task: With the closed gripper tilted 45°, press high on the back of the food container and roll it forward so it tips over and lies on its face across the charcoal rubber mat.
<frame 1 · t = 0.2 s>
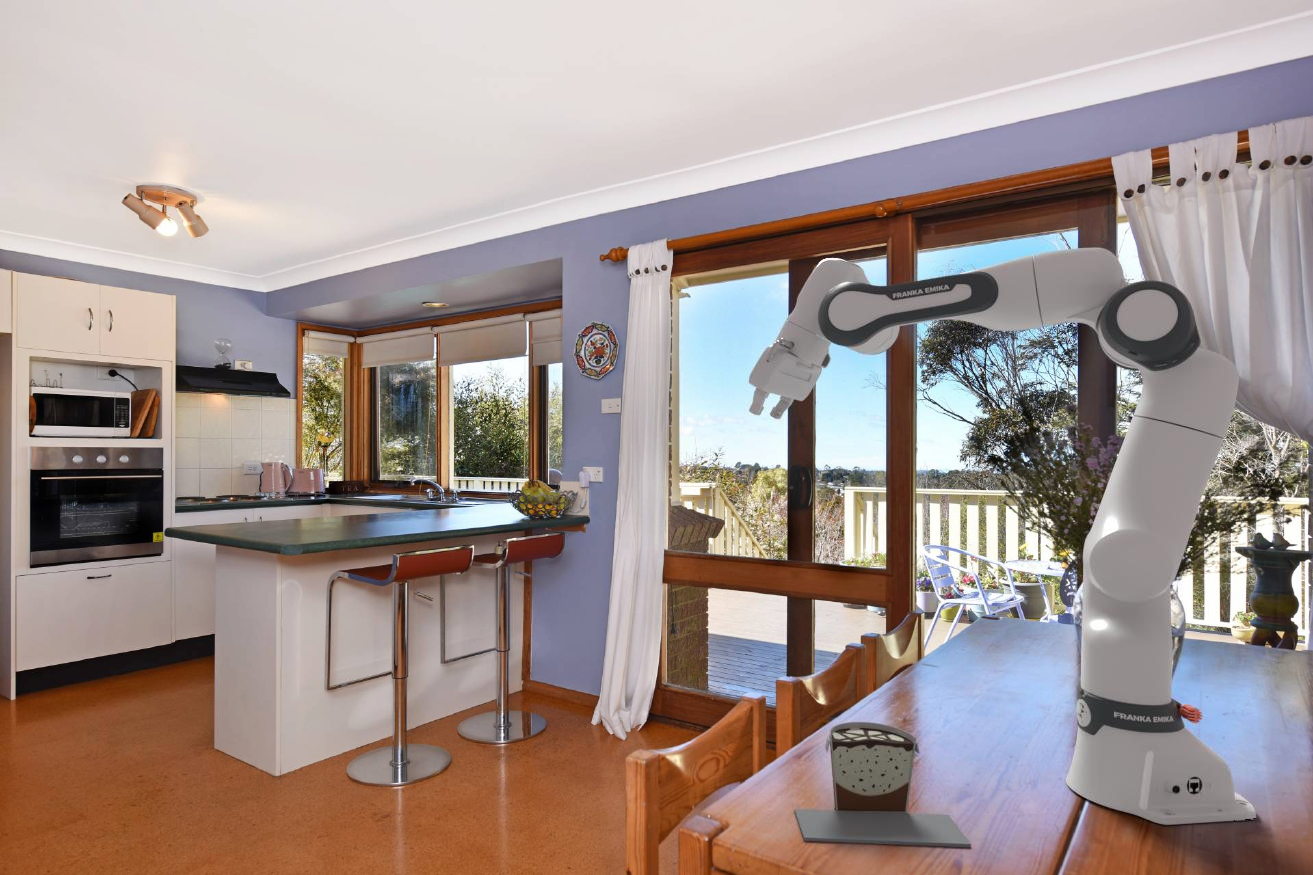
hand: (764, 415, 137), 54 cm above the table, tool tilted 30°, fingers open, 8 cm apart
charcoal rubber mat: (879, 828, 96), on the table
food container: (864, 804, 104), on the table
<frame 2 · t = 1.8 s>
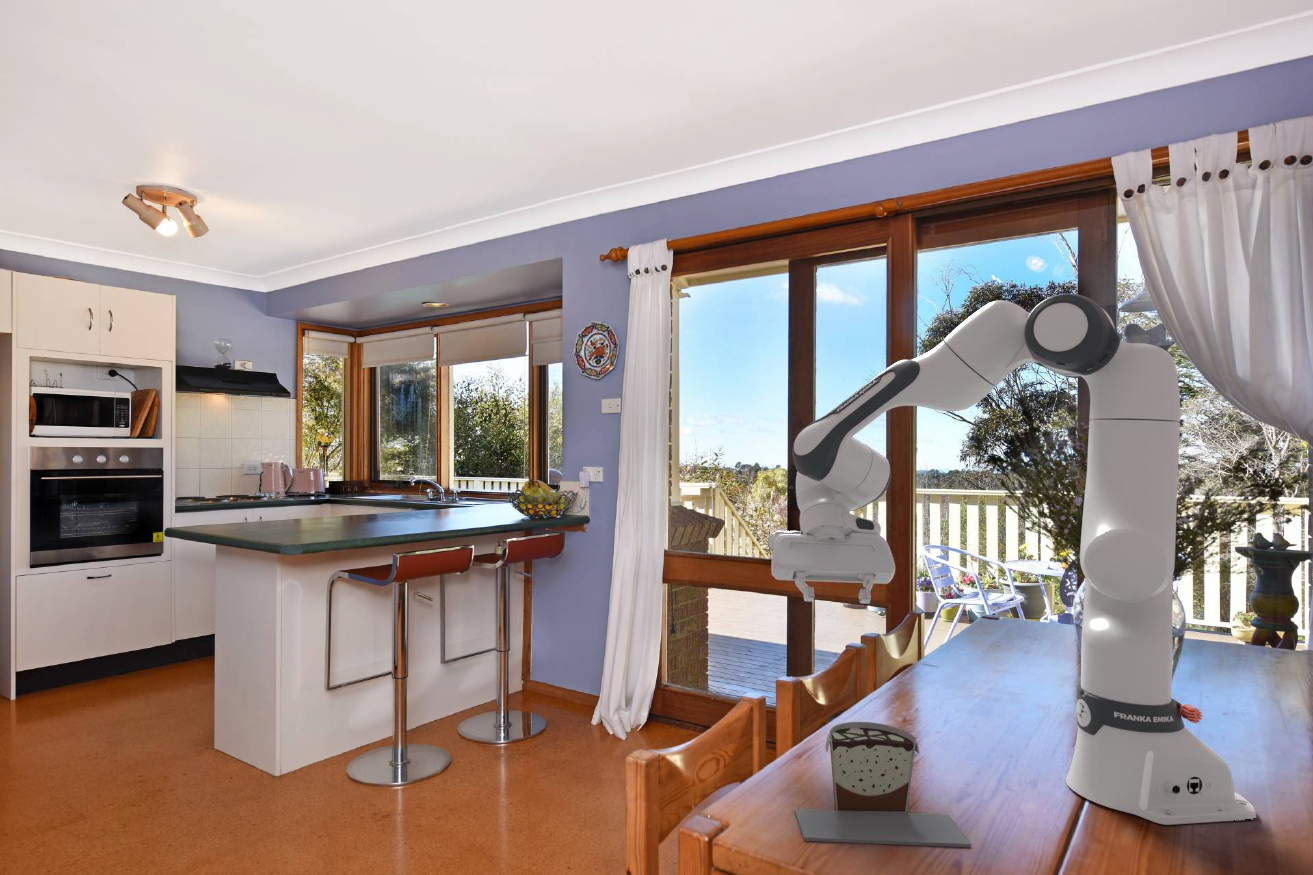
hand: (837, 600, 123), 23 cm above the table, tool tilted 45°, fingers open, 8 cm apart
nothing on the table moved.
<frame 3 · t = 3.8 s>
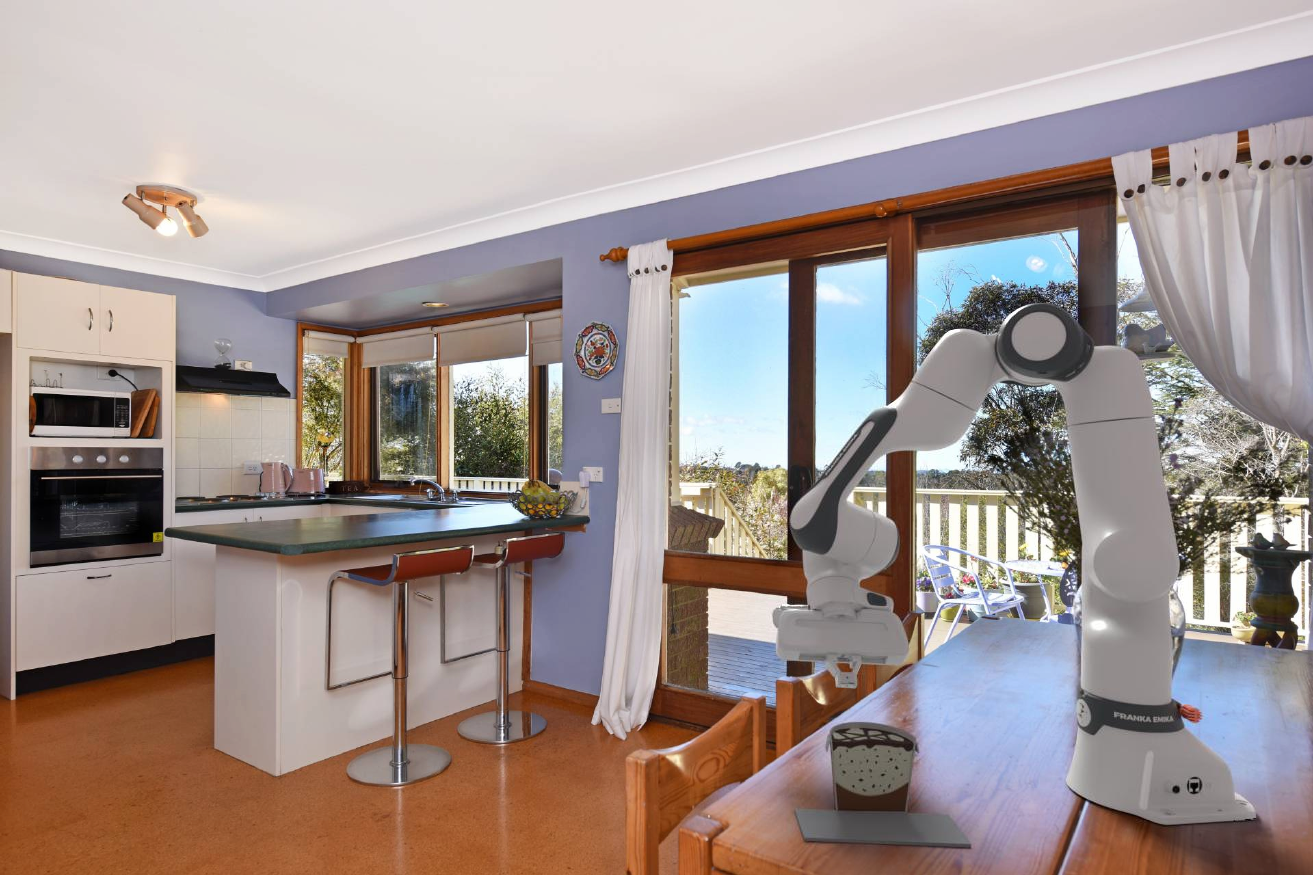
hand: (846, 685, 115), 12 cm above the table, tool tilted 45°, fingers closed
nothing on the table moved.
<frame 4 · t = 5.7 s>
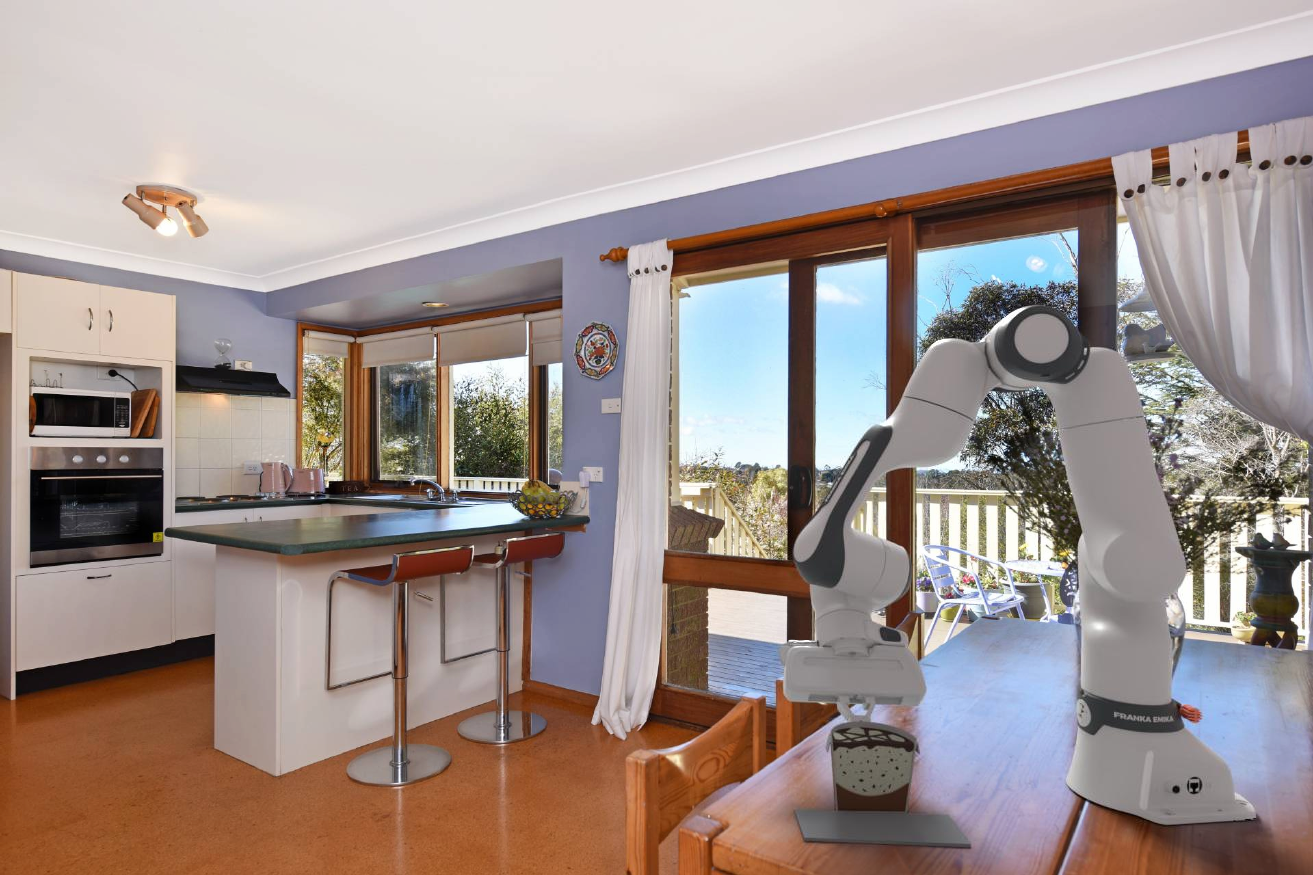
hand: (860, 730, 107), 9 cm above the table, tool tilted 45°, fingers closed
food container: (864, 803, 104), on the table, touching gripper
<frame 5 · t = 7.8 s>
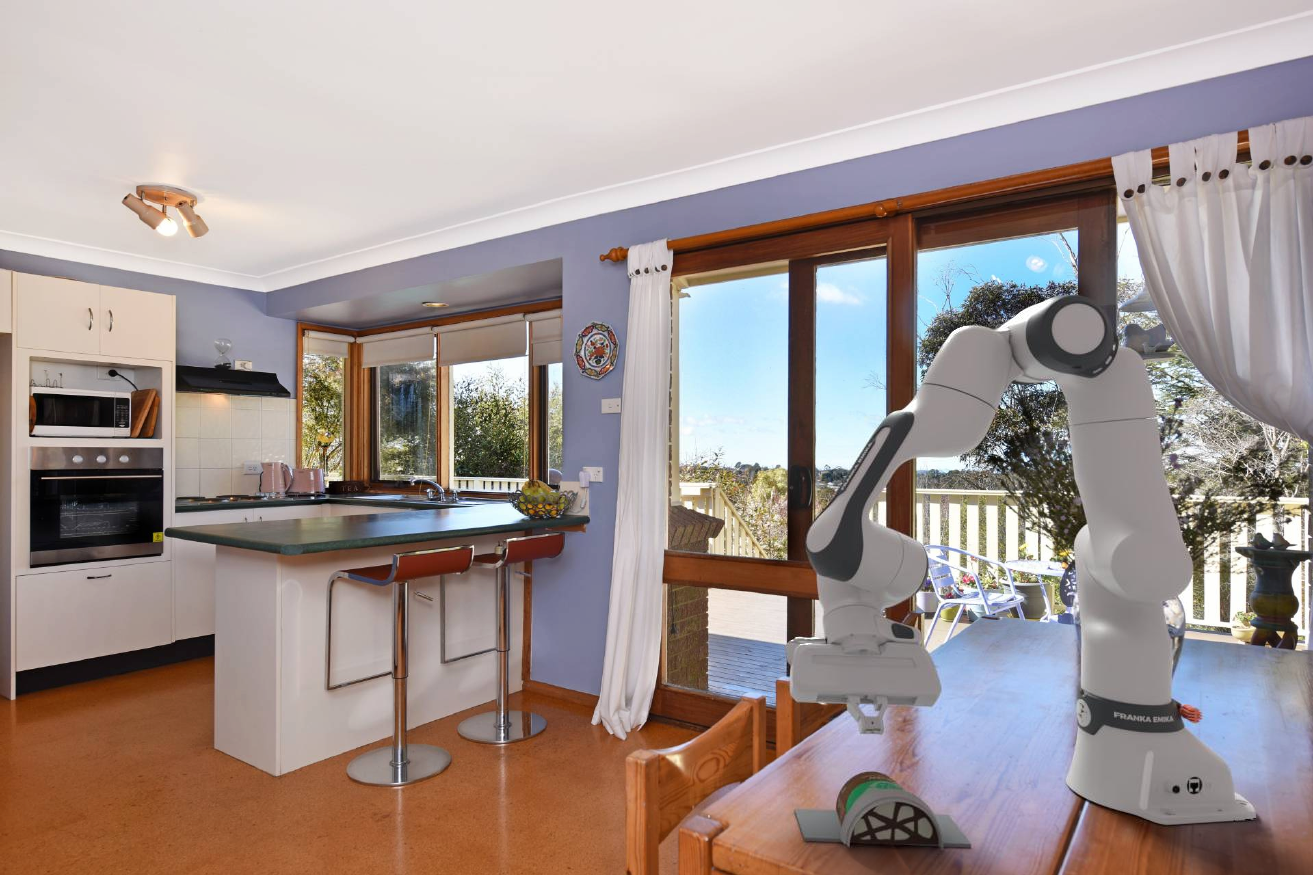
hand: (872, 732, 101), 10 cm above the table, tool tilted 45°, fingers closed
food container: (871, 785, 101), point 3 cm above the table, touching charcoal rubber mat
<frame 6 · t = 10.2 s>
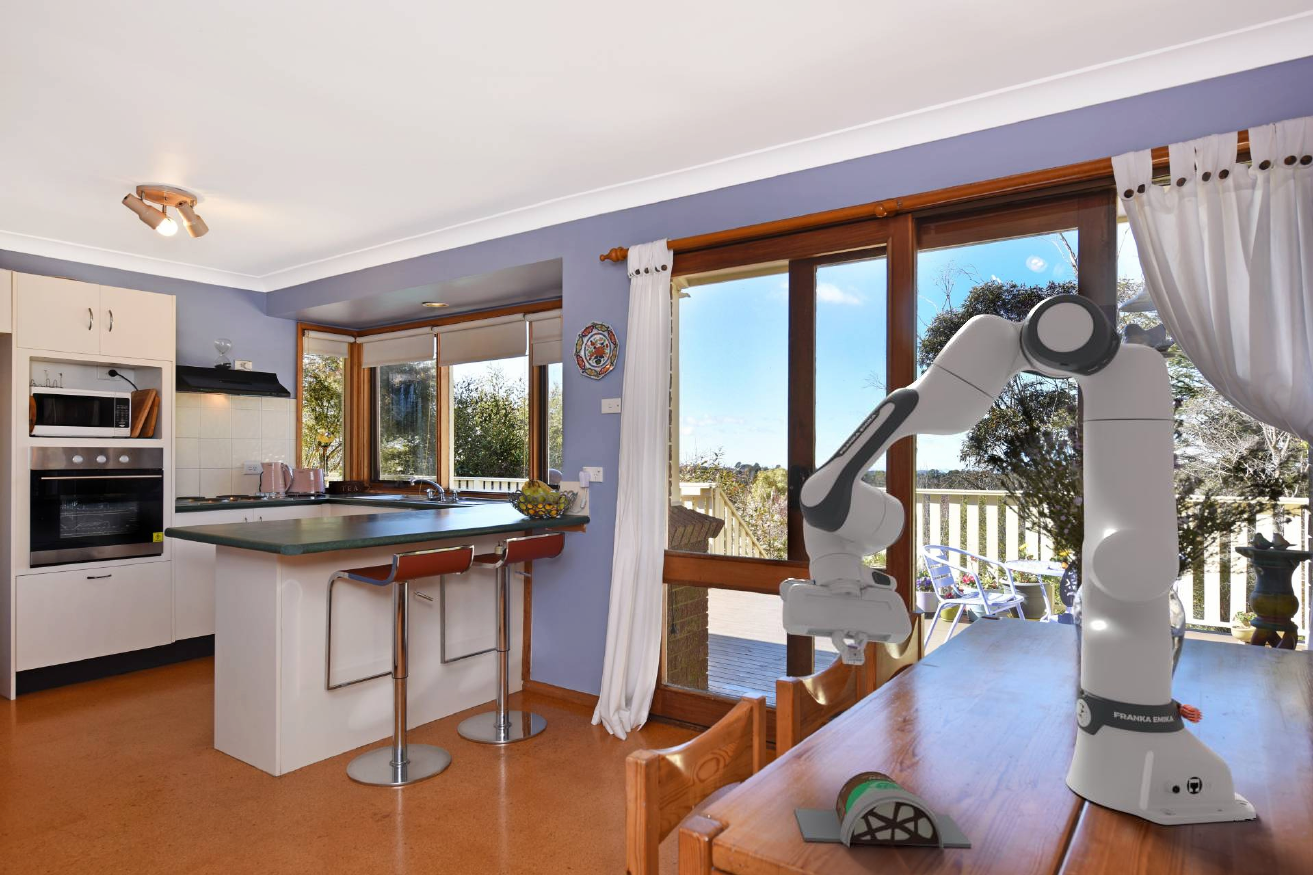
hand: (854, 662, 116), 16 cm above the table, tool tilted 40°, fingers closed
nothing on the table moved.
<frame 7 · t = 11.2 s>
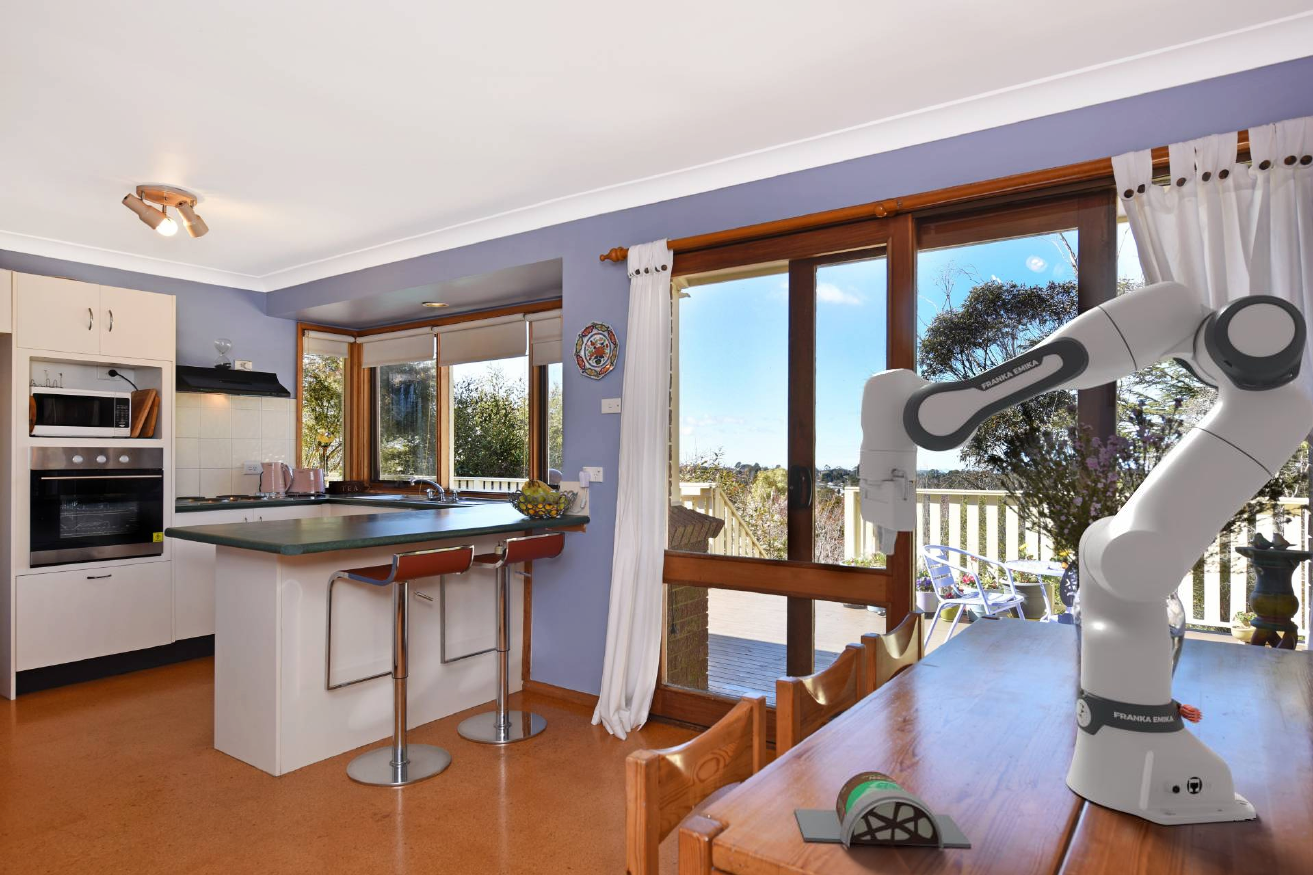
hand: (885, 553, 125), 31 cm above the table, tool pointing down, fingers closed
nothing on the table moved.
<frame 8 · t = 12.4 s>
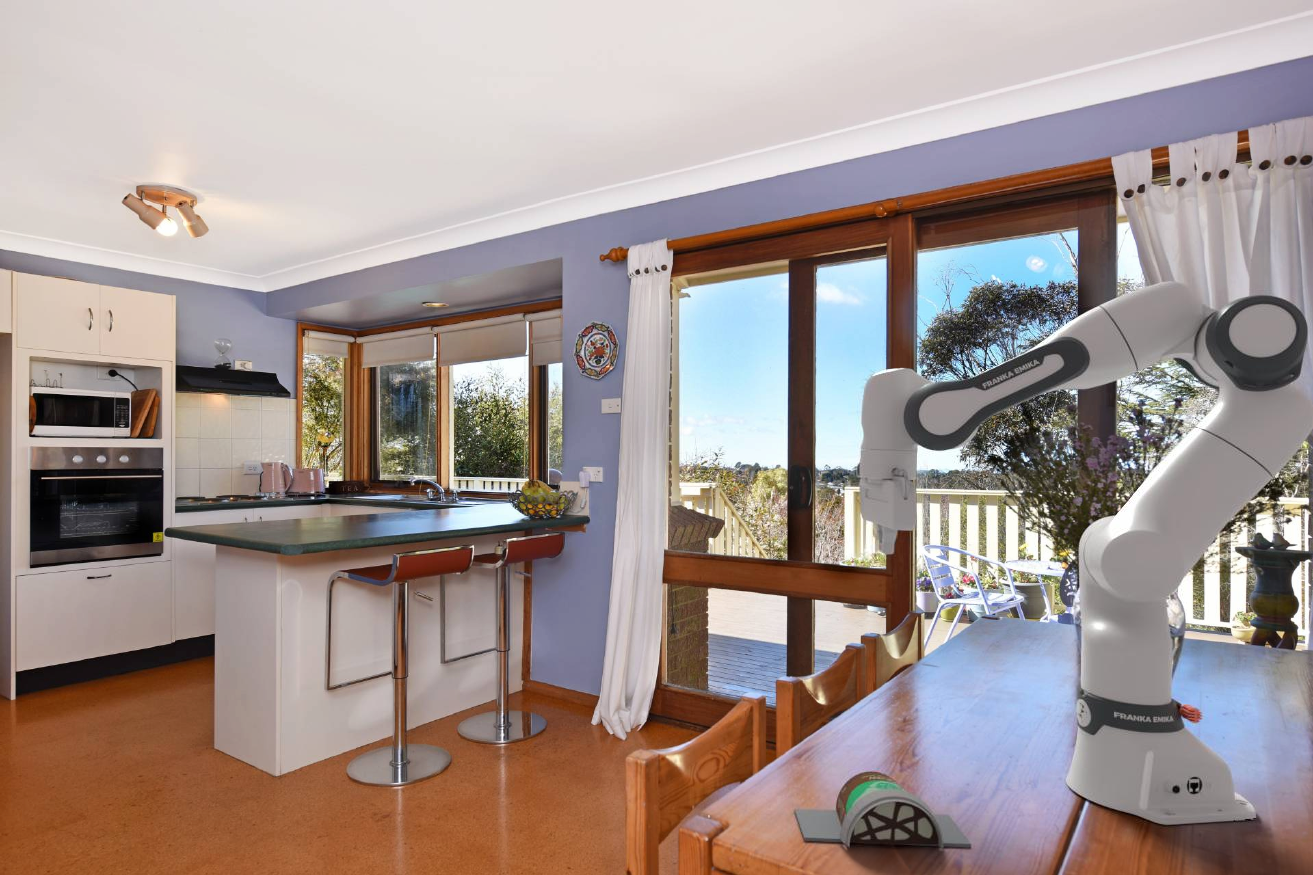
hand: (885, 553, 125), 31 cm above the table, tool pointing down, fingers closed
nothing on the table moved.
at the end: food container tilted 90°; food container touching charcoal rubber mat; food container moved 4.3 cm from its start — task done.
